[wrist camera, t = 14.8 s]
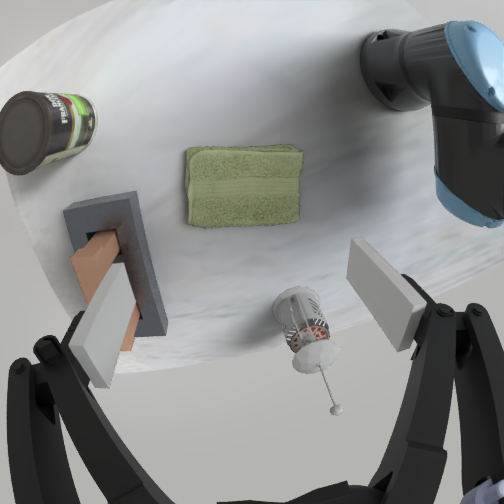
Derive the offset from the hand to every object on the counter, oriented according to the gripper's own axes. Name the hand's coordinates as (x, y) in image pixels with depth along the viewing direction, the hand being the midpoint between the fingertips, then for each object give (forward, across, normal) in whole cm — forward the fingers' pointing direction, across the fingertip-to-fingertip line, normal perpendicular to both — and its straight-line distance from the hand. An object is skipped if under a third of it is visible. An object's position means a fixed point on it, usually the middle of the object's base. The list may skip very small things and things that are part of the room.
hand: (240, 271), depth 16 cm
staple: (+29, -20, -14) cm, 38 cm away
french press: (+29, +11, -26) cm, 40 cm away
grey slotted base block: (+29, -20, -14) cm, 38 cm away
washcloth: (+29, +3, -2) cm, 30 cm away
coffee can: (+29, -24, +12) cm, 39 cm away
